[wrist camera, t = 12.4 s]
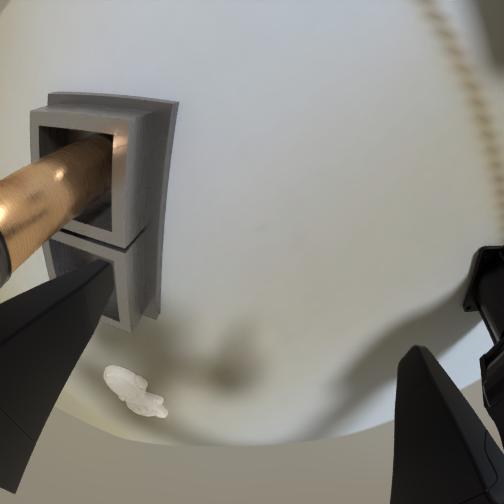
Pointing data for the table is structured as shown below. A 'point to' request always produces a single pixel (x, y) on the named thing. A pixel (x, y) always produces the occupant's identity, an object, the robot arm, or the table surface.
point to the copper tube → (50, 197)
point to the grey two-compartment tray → (114, 194)
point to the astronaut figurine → (134, 392)
